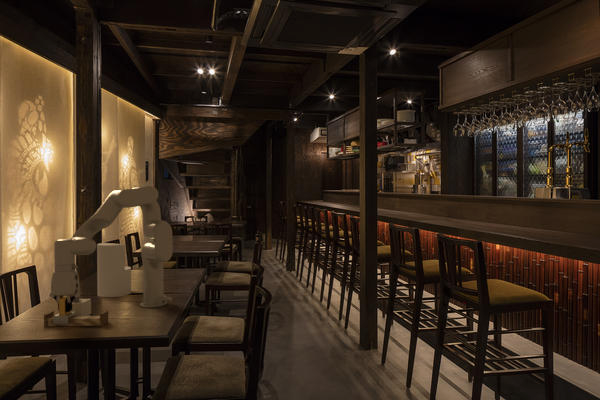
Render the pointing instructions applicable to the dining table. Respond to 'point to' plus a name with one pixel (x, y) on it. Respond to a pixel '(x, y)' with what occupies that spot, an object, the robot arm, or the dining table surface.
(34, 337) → the dining table surface
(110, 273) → the cylinder
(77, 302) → the plunger
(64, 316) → the carriage
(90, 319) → the rail
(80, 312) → the housing
